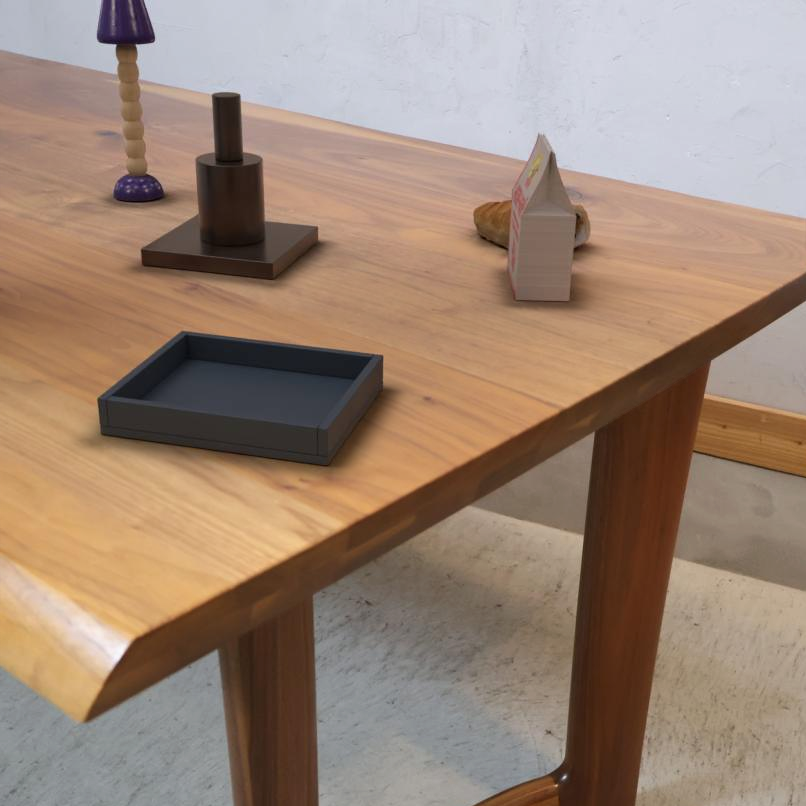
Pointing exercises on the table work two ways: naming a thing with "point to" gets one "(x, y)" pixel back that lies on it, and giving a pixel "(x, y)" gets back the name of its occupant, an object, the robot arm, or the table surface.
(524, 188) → the milk carton
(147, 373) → the tray
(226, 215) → the stand
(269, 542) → the table surface
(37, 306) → the table surface
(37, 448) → the table surface
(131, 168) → the toy lamp
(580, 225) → the pastry
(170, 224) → the table surface
